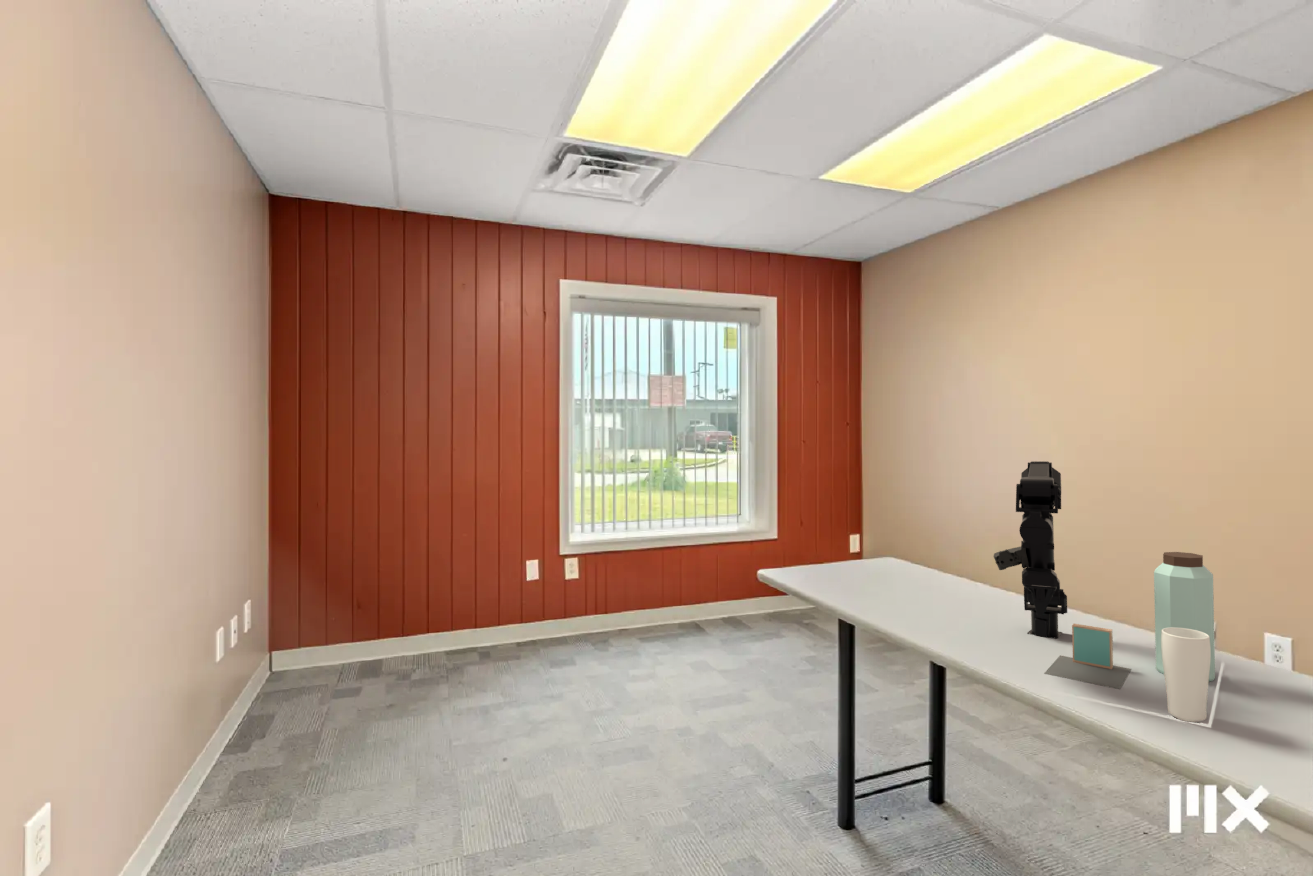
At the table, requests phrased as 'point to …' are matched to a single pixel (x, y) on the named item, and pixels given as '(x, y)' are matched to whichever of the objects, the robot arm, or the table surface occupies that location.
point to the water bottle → (1183, 599)
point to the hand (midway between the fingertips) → (1039, 609)
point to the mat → (1088, 672)
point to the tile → (1092, 645)
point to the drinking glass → (1186, 672)
